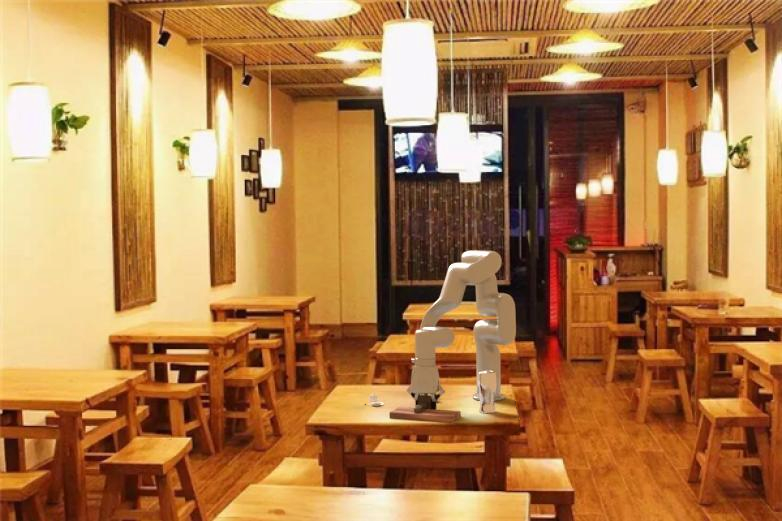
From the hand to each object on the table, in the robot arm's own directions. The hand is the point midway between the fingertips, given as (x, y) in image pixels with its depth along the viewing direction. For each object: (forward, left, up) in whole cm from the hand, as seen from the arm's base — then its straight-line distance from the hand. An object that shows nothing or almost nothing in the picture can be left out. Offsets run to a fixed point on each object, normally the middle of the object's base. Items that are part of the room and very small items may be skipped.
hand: (425, 410), depth 363 cm
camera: (+5, 0, -1) cm, 5 cm away
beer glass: (-9, +21, -1) cm, 23 cm away
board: (+7, +2, -1) cm, 8 cm away
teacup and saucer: (-6, -26, -2) cm, 27 cm away
